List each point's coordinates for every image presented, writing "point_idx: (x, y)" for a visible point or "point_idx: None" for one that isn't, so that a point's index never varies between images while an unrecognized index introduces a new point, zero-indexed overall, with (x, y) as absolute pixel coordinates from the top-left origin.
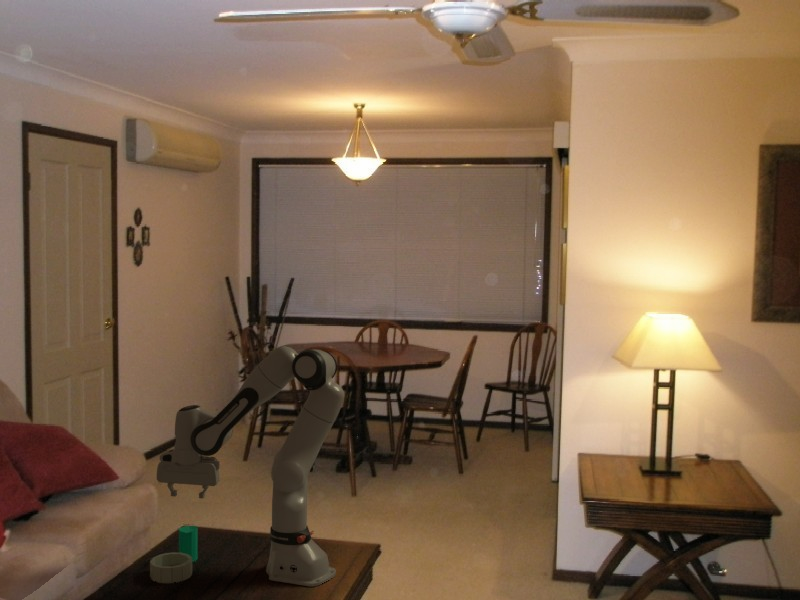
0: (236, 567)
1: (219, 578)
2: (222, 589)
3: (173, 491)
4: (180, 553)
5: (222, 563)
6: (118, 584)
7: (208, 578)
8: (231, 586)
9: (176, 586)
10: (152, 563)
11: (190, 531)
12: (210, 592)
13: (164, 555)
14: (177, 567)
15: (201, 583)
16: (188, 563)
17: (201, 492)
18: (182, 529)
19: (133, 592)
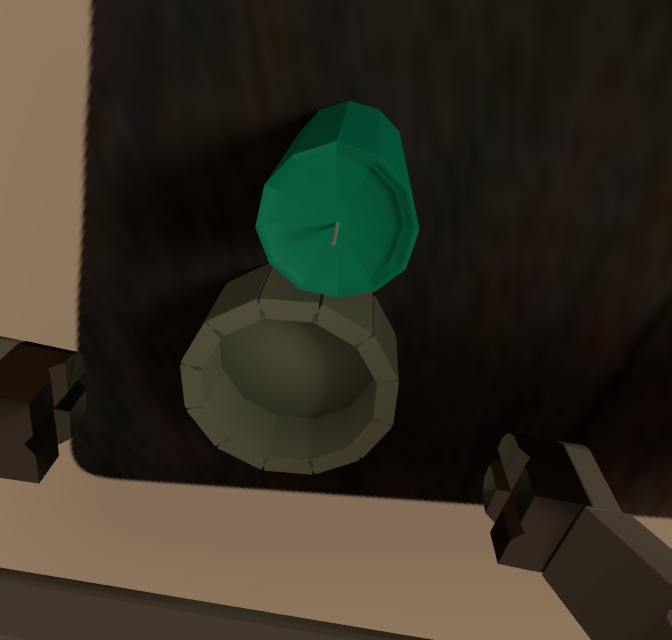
0: (628, 281)
1: (527, 394)
2: None
3: (5, 476)
4: (319, 314)
5: (555, 223)
6: (106, 418)
7: (476, 391)
8: None
9: None
10: (205, 425)
11: (361, 258)
12: None
13: (232, 330)
14: (338, 464)
15: (446, 432)
16: (385, 432)
17: (547, 530)
18: (285, 207)
19: (194, 479)
